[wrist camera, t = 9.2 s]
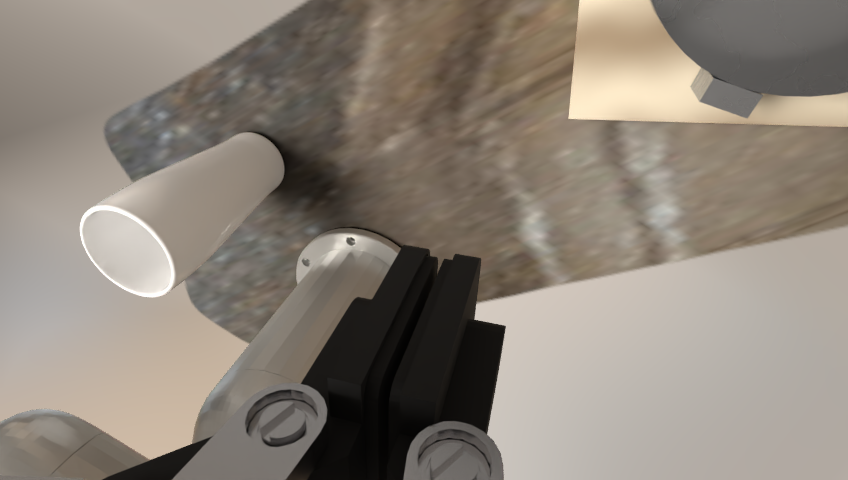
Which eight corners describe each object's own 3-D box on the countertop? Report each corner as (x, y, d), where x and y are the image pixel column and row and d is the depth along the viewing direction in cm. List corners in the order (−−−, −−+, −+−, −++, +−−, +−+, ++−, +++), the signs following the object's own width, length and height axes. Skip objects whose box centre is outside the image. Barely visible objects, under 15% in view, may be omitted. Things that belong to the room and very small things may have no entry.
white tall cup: (310, 167, 42) (194, 268, 30) (267, 209, 45) (148, 315, 33) (249, 104, 40) (100, 183, 28) (209, 153, 44) (62, 242, 32)
